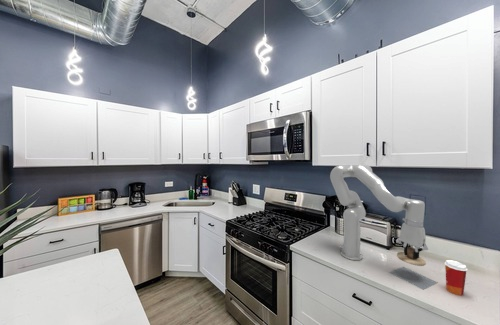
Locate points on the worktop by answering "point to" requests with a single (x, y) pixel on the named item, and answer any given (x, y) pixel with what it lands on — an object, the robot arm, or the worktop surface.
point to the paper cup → (455, 277)
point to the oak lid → (411, 257)
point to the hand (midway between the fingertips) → (411, 256)
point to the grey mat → (413, 278)
